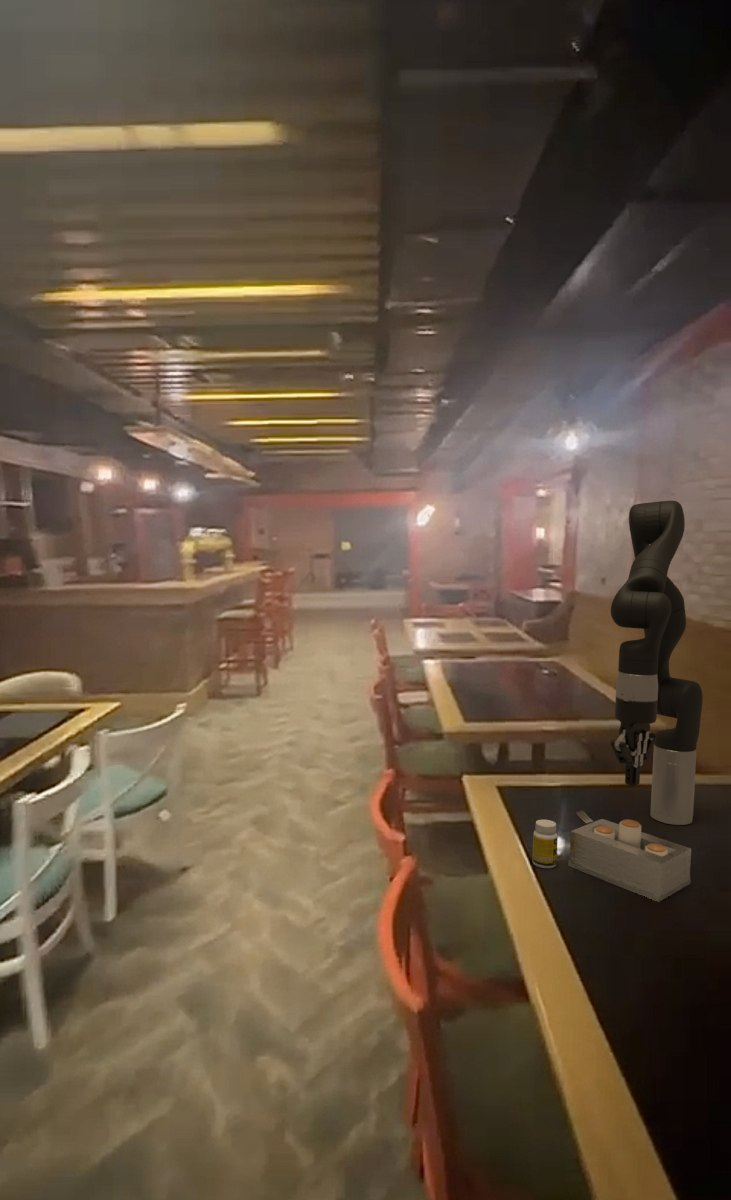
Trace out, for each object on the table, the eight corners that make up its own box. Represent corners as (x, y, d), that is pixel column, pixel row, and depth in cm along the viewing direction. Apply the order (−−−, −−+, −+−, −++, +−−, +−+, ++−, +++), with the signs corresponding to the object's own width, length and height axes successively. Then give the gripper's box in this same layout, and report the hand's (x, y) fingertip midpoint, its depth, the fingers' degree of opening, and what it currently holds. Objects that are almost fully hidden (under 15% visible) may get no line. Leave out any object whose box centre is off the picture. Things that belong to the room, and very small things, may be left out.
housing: (601, 850, 155) (603, 818, 154) (690, 883, 140) (692, 847, 140) (568, 865, 147) (569, 831, 147) (658, 902, 133) (660, 864, 132)
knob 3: (650, 871, 142) (652, 840, 142) (670, 878, 139) (672, 847, 139) (639, 876, 140) (641, 845, 139) (659, 884, 137) (661, 853, 136)
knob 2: (625, 846, 146) (626, 817, 146) (643, 853, 143) (645, 823, 143) (614, 851, 144) (615, 821, 143) (632, 858, 141) (634, 828, 140)
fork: (637, 842, 160) (637, 833, 160) (575, 820, 173) (575, 812, 173) (644, 840, 162) (644, 831, 162) (582, 818, 174) (582, 809, 174)
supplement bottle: (557, 870, 145) (558, 828, 144) (532, 867, 146) (534, 826, 145) (555, 860, 150) (557, 819, 149) (531, 857, 151) (533, 817, 150)
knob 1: (599, 852, 151) (601, 823, 150) (617, 858, 148) (618, 829, 147) (588, 857, 148) (589, 828, 148) (606, 864, 145) (607, 834, 145)
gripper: (636, 688, 148) (632, 773, 150) (599, 696, 140) (595, 786, 141) (672, 695, 143) (667, 783, 144) (636, 703, 134) (631, 796, 135)
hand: (632, 784), depth 142 cm, fingers closed
